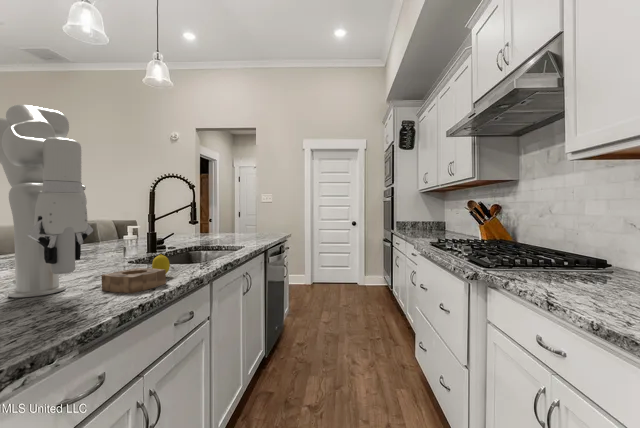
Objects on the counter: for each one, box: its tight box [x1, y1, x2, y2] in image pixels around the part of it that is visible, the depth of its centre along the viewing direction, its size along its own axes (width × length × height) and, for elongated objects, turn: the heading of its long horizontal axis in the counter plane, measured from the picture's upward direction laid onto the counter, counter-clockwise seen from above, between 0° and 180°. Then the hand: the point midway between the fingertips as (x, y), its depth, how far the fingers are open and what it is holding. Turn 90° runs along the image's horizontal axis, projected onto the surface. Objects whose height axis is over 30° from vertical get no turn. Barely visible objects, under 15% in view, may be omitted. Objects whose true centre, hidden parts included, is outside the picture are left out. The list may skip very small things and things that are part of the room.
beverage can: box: [51, 227, 76, 275], centre depth 82 cm, size 5×5×12 cm
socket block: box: [101, 267, 167, 294], centre depth 99 cm, size 13×13×4 cm
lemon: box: [151, 253, 171, 274], centre depth 113 cm, size 6×6×8 cm
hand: (63, 260), depth 82 cm, fingers closed on beverage can, 4 cm apart
